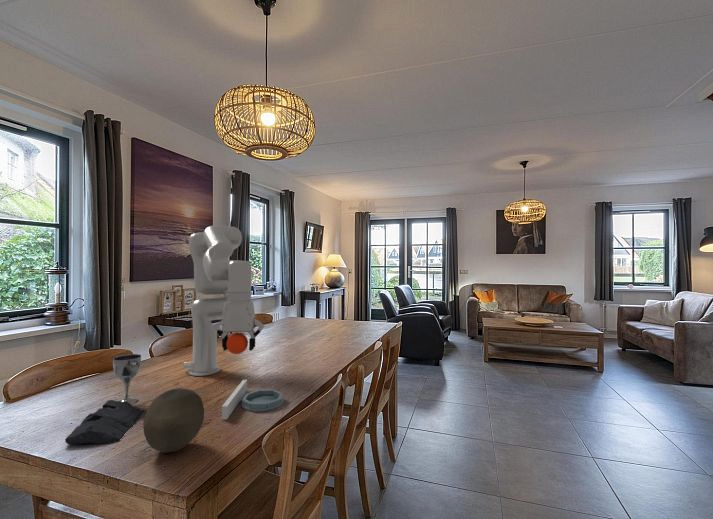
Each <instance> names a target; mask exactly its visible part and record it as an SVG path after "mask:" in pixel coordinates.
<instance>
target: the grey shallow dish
mask: <svg viewBox="0 0 713 519" xmlns="http://www.w3.org/2000/svg"><path fill="white" fill-rule="evenodd" d="M283 404H284V393H283V392H280V391H278V390H276V389H257V390H254V391H251V392H248V393H247V392H246V393H245V394H244V396H243V397H242V399H241V408H242V409H244V410H245V411H247V412H252V413H253V412H254V413H259V412H260V413H263V412H269V411H274V410H276V409H278V408H280V407H281V406H282V405H283Z"/></svg>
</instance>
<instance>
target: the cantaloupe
mask: <svg viewBox="0 0 713 519" xmlns="http://www.w3.org/2000/svg"><path fill="white" fill-rule="evenodd" d="M204 418H205V408H204V403H203V400H202V398H201V396H200V395H199V394H198V392H196V391H195V390H193V389H188V388H171V389H169V390H166V391H163V392H162V393H161V394H159V395H158V396H156V397H154V399H153V400H152V402H151V403H150V405H149V406H148V408H147V411H146V412H145V415H144V419H143V426H142V429H143V434H144V437H145V440H146V442H147V443H148V445H149V446H150V447H151V448H152V449H154V450H156V452H160V453H165V454H167V453H173V452H177V451H180V450H181V449H183V448H185V447H186V446H188V445H189V444H190V442H192V441H193V440H194V439H195V438H196V437H197V435H198V433H199V432H200V431H201V428H202V426H203V422H204Z"/></svg>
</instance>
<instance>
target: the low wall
mask: <svg viewBox="0 0 713 519" xmlns="http://www.w3.org/2000/svg"><path fill="white" fill-rule="evenodd" d="M247 391H248V379H242V380H241V382H240V383H239V384H238V386H237V387H236V388H235V389H234V391H233V392H231V394H230V396H229V397H228V398H227V399H226V401H225V402H224V403H223V405H222V406H221V420H223V421H224V420H226V421H227V420H228V419H229V418H230V415H231V414H232V413H233V411H234V410H235V409H236V407H237V406H238V404H239V402H241V401H242V399H243V397H244V396H245V394H247Z"/></svg>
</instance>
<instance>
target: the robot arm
mask: <svg viewBox="0 0 713 519" xmlns="http://www.w3.org/2000/svg"><path fill="white" fill-rule="evenodd" d="M242 236H243V235H242V232H241V230H240V229H239V228H238V227H237V226H231V225H230V226H227V225H210V226H208V227H206V228H205V230H204V231H203V232H202V231H201V232H195V233H193V234H192V233H191V235H190V236H189V238H188V248H189V253H190V256H191V258H192V261H193V277H194V278H193V279H194V281H193V284H194V291H195V293H196V294H198V295H200V296H215V295H217V296H219V295H220V296H221V297H207V298H206V297H205V298H204V297H202V298H198V299H196V300H194V301H193V302H192V303H191V307H190V311H191V312H190V313H191V319H192V361H184V362H183V363H182V366H183V368H189V369H188V371H187V372H188V375H190V376H195V377H204V376H212V375H214V374H217V373H219V372H220V371H221V367H220V366H219V365H218V364H217V356H218V355H217V354H218V353H217V352H218V351H217V348H218V344H217V343H218V341H217V340H218V338H217V337H218V336H220V338H221V339H222V340H221V341H222V342H221V347H222V349H223V350H222V351H228V349H227V346H226V342H227V339H228V338H229V336H228V335H229V334H230V333H237V332H238V333H247V334H248V335H249V336H250V337H249V339H248V348H249V349H248V350H249V351H251V352H252V351H253V350H254V349H255V348H256V337H257V336H258V335H259V334H260V333H261V332H262V331H263V329H264V328H265V324H264V323H262V322H261V321H259V320H258V319H256V313H255V304H254V301H253V300H252V263H251V262H250V261H249V260H236V259H235V260H232V259H229V258H231V256H232V255H233V253H234V251H235V249H238V248H239V247H240V245H241V244H242V240H243V237H242ZM216 320H220V321H218V322H216V323H215V324H213V323H212V321H216ZM256 326H257V327H258V328H257V329H256V330H254V329H255V328H256Z"/></svg>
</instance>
